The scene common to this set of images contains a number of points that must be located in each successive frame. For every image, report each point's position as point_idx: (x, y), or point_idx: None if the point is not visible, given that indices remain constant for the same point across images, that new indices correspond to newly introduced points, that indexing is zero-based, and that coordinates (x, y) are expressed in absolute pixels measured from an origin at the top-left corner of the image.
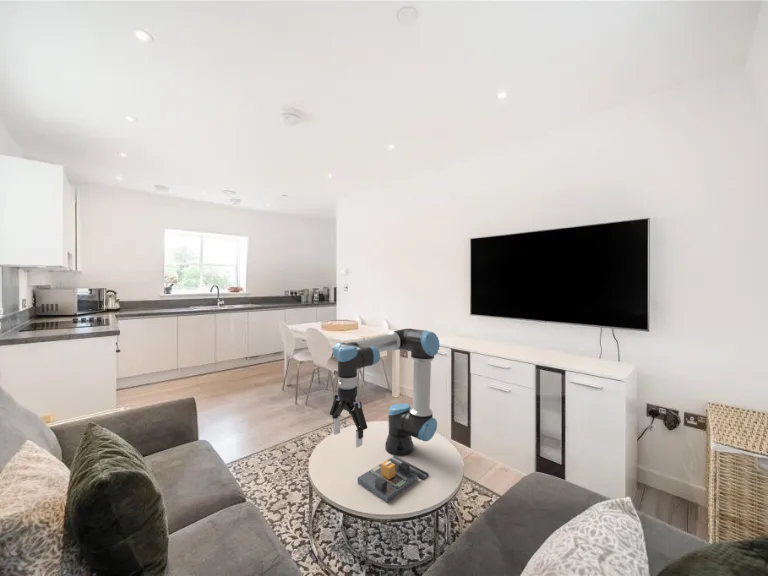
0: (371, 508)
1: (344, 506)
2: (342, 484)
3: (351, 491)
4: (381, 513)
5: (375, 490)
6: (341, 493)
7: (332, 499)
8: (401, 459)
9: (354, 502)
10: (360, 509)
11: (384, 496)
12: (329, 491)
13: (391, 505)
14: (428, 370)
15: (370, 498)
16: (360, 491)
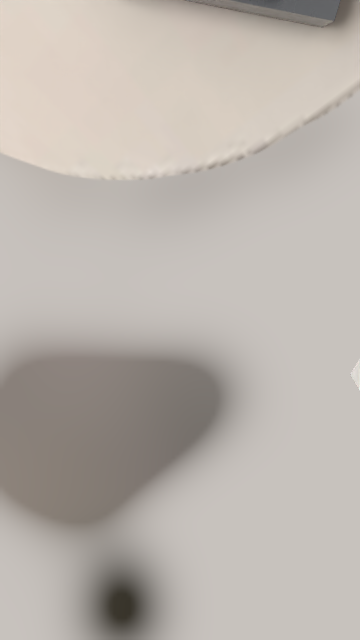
0: (267, 112)
1: (168, 175)
2: (50, 56)
3: (124, 72)
4: (319, 109)
5: (245, 5)
6: (100, 118)
7: (103, 174)
8: None
9: (185, 129)
10: (231, 148)
11: (311, 18)
12: (52, 143)
13: (345, 24)
14: None
15: (230, 52)
16: (158, 38)
